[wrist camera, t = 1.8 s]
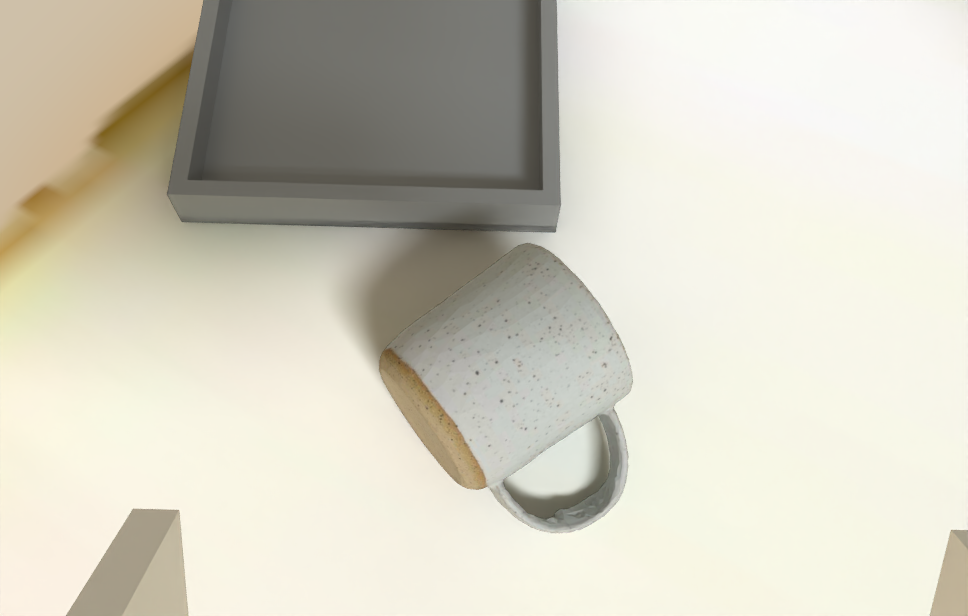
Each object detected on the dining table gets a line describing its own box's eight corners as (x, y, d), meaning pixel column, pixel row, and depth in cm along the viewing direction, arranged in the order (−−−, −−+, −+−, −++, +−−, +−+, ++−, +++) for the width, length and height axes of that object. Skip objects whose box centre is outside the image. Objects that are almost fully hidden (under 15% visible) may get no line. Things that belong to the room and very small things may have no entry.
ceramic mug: (372, 389, 41) (357, 323, 34) (514, 289, 43) (527, 207, 36) (522, 584, 38) (539, 554, 31) (667, 464, 40) (714, 411, 33)
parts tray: (550, -46, 52) (554, -82, 50) (555, 232, 45) (560, 205, 42) (231, -57, 52) (221, -93, 50) (181, 221, 44) (167, 194, 42)
